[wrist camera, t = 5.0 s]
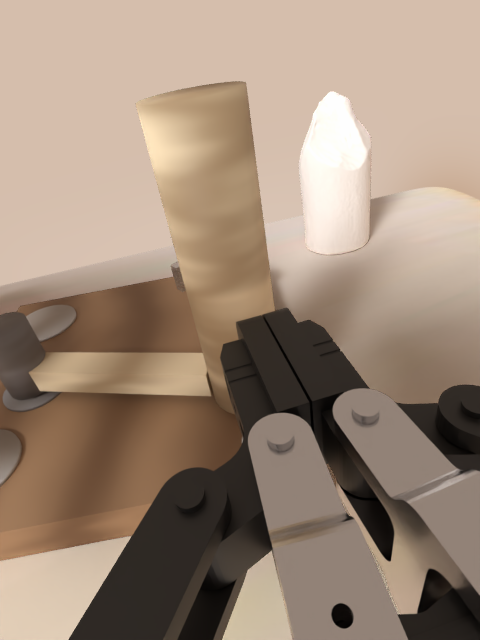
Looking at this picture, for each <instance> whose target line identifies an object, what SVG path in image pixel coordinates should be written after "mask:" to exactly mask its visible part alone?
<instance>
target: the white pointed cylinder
mask: <svg viewBox="0 0 480 640" xmlns="http://www.w3.org/2000/svg"><path fill="white" fill-rule="evenodd" d="M299 176H300V184H301V194H302V204H303V213H304V225H305V240H306V243H305V244H306V246H307V248H308V249H309V250H311V251H313V252H315V253H319V254H323V255H336V254H342V253H347V252H351V251H354V250H357V249H359V248H361V247H363V246H364V245H365V244H366V243H367V242H368V240H369V227H370V191H371V189H370V188H371V137H370V134H369V133H368V131H367V130H366V128H365V127H364V126H363V125H362V123H360V122H359V121H358V119H357V117H356V116H355V114H354V112H353V109H352V106H351V102H350V99H349V98H347V97H345V96H342V95H340V94H338V93H337V92H330V93H328V94H327V96H325V97H324V98H323V100H322V101H320V102H319V105H318V108H317V109H316V110H315V112H314V114H313V117H312V122H311V125H310V128H309V130H308V133H307V136H306V138H305V141H304V144H303V147H302V149H301V154H300V161H299Z"/></svg>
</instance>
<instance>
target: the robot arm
mask: <svg viewBox="0 0 480 640" xmlns="http://www.w3.org/2000/svg"><path fill="white" fill-rule="evenodd" d="M236 329H237V334H238V339H239V340H236V341H232V342H228V343H225V344H223V347H222V351H221V355H220V360H221V364H222V369H223V373H224V377H225V381H226V386H227V390H228V394H229V398H230V401H231V404H232V407H233V410H234V413H235V416H236V419H237V422H238V425H239V428H240V431H241V434H242V437H243V442H242V445H241V447H240V448H239V450H238V452H237V453H236V454H235V455H234V456H233V457H232V458H231V459H230V460H229V461H228V462H226V463H225V464H223V465H222V466H220V467H219V468H217V469H216V470H214V471H212V470H210V469H207V468H203V467H194V468H188V469H185V470H182V471H180V472H178V473H176V474H175V475H173V476H172V477H171V478H170V479H168V481H167V482H166V483H165V484H164V485H163V487H162V488H161V489H160V491H159V493H158V494H157V496H156V498H155V499H154V501H153V503H152V504H151V506H150V507H149V509H148V511H147V512H146V514H145V516H144V517H143V519H142V520H141V522H140V524H139V525H138V527H137V529H136V530H135V532H134V534H133V535H132V537H131V538H130V540H129V542H128V543H127V545H126V547H125V548H124V550H123V551H122V553H121V555H120V556H119V558H118V560H117V561H116V563H115V565H114V566H113V568H112V569H111V571H110V573H109V574H108V576H107V578H106V579H105V581H104V582H103V584H102V586H101V587H100V589H99V591H98V592H97V594H96V596H95V597H94V599H93V600H92V602H91V604H90V605H89V607H88V609H87V610H86V612H85V613H84V615H83V617H82V618H81V620H80V622H79V623H78V625H77V627H76V628H75V630H74V631H73V633H72V635H71V636H70V638H69V640H222V638H223V635H224V632H225V630H226V627H227V624H228V622H229V619H230V616H231V614H232V611H233V609H234V606H235V603H236V601H237V598H238V595H239V593H240V590H241V587H242V585H243V582H244V579H245V576H246V573H247V570H248V569H249V568H251V567H252V566H253V565H254V564H255V563H257V562H258V561H259V560H260V559H262V558H263V557H264V556H265V555H266V554H268V553H269V552H270V551H271V550H272V553H273V557H274V562H275V566H276V570H277V574H278V579H279V583H280V587H281V592H282V596H283V600H284V605H285V609H286V613H287V618H288V622H289V626H290V631H291V635H292V639H293V640H480V386H475V385H458V386H453V387H451V388H448V389H447V390H445V391H444V392H443V393H442V394H441V396H440V398H439V402H438V403H434V404H401V403H395V402H394V401H393V400H392V399H391V398H390V397H389V396H387V395H386V394H384V393H382V392H379V391H376V390H373V389H370V388H369V387H368V386H367V385H366V383H365V382H364V381H363V379H362V378H361V377H360V375H359V374H358V373H357V371H356V370H355V369H354V367H353V366H352V365H351V363H350V362H349V361H348V359H347V358H346V357H345V355H344V354H343V353H342V351H341V352H340V349H339V347H338V346H337V345H336V343H335V342H333V339H332V338H331V337H330V335H329V334H328V333H327V331H326V330H325V329H324V328H323V327H321V326H320V325H318V324H316V323H314V322H312V321H311V320H307V321H303V322H299V323H297V321H296V320H295V318H294V317H293V315H292V314H291V312H290V311H289V309H288V308H284V309H280V310H277V311H273V312H270V313H266V314H262V316H261V315H259V316H255V317H252V318H248V319H244V320H241V321H237V322H236ZM326 464H329V465H330V467H331V469H332V471H333V473H334V475H335V485H334V482H333V480H332V478H331V475H330V473H329V470H328V468H327V465H326ZM341 500H342V502H343V504H344V506H345V507H346V509H347V511H348V512H349V514H350V516H349V515H348V514H347V513H346V511H345V509H344V507H343V504H342V502H341ZM367 544H368V545H367ZM368 546H369V547H370V549H371V551H372V553H373V554H374V556H375V558H376V559H377V561H378V563H379V564H380V566H381V568H382V570H383V572H384V575H385V577H386V580H387V584H388V588H389V591H390V593H391V596H392V598H393V600H394V603H395V605H396V607H397V609H398V611H399V612H400V614H397V612H396V610H395V608H394V605H393V603H392V601H391V598H390V596H389V594H388V591H387V589H386V587H385V584H384V582H383V580H382V577H381V575H380V573H379V570H378V568H377V566H376V563H375V561H374V559H373V556H372V554H371V552H370V549H369V547H368Z"/></svg>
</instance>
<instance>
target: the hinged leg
mask: <svg viewBox="0 0 480 640" xmlns="http://www.w3.org/2000/svg"><path fill="white" fill-rule="evenodd" d="M136 108H137V111H138V115H139V119H140V122H141V126H142V130H143V133H144V137H145V141H146V145H147V148H148V152H149V156H150V159H151V163H152V167H153V170H154V174H155V178H156V181H157V185H158V189H159V193H160V196H161V200H162V204H163V208H164V211H165V215H166V219H167V222H168V226H169V230H170V233H171V237H172V241H173V245H174V248H175V252H176V256H177V259H178V263H179V267H180V271H181V274H182V278H183V282H184V285H185V289H186V293H187V297H188V300H189V304H190V308H191V311H192V315H193V319H194V322H195V326H196V330H197V334H198V337H199V341H200V345H201V348H202V352H203V353H95V352H45V350H44V348H43V346H42V345H41V343H40V341H39V339H38V338H37V336H36V334H35V332H34V330H33V329H32V327H31V325H30V323H29V321H28V320H27V318H26V316H25V315H24V314H23V313H20V312H12V313H6V314H2V315H0V380H1V382H2V383H3V385H4V386H5V388H6V389H7V391H8V392H9V394H10V395H11V396H12V398H14V399H17V400H26V399H30V398H34V397H36V396H38V395H40V394H42V393H44V392H45V391H51V392H85V393H119V394H152V395H186V396H212V394H213V393H214V397H215V400H216V402H217V404H218V405H219V406H220V407H221V408H222V409H223V410H225V411H227V412H229V413H232V414H235V413H234V410H233V407H232V404H231V401H230V398H229V394H228V390H227V386H226V381H225V377H224V373H223V369H222V364H221V360H220V355H221V351H222V347H223V344H225V343H228V342H232V341H236V340H239V339H238V334H237V329H236V322H237V321H241V320H244V319H248V318H252V317H255V316H259V315H261V316H262V314H266V313H270V312H273V311H275V308H274V300H273V292H272V284H271V276H270V268H269V260H268V252H267V244H266V237H265V229H264V221H263V213H262V205H261V198H260V189H259V182H258V174H257V166H256V158H255V150H254V142H253V135H252V127H251V118H250V110H249V103H248V95H247V87H246V82H240V81H239V82H224V83H216V84H209V85H202V86H197V87H191V88H186V89H181V90H176V91H172V92H168V93H163V94H160V95H156V96H152V97H149V98H146V99H143V100H141V101H138V102H137V103H136Z"/></svg>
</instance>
